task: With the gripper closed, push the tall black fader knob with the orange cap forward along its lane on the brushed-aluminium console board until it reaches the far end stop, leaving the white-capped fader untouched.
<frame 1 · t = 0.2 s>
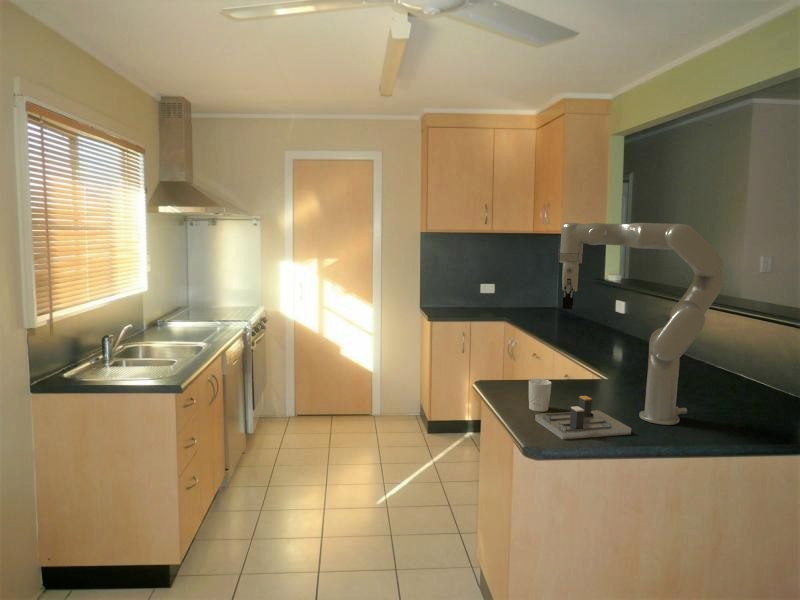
hand: (567, 307, 207), 37 cm above the worktop, tool pointing down, fingers open, 9 cm apart
white cup: (538, 409, 209), on the worktop
console: (581, 426, 191), on the worktop
fader a: (585, 406, 197), point 5 cm above the worktop, slide at 0.0 cm
fader b: (577, 417, 185), point 5 cm above the worktop, slide at 9.0 cm
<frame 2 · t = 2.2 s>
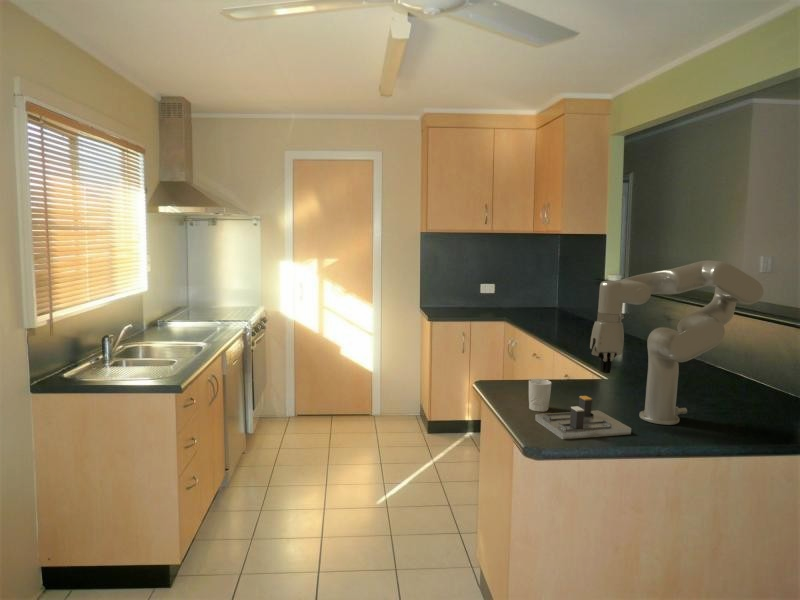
hand: (605, 372, 197), 17 cm above the worktop, tool pointing down, fingers closed
nothing on the worktop moved.
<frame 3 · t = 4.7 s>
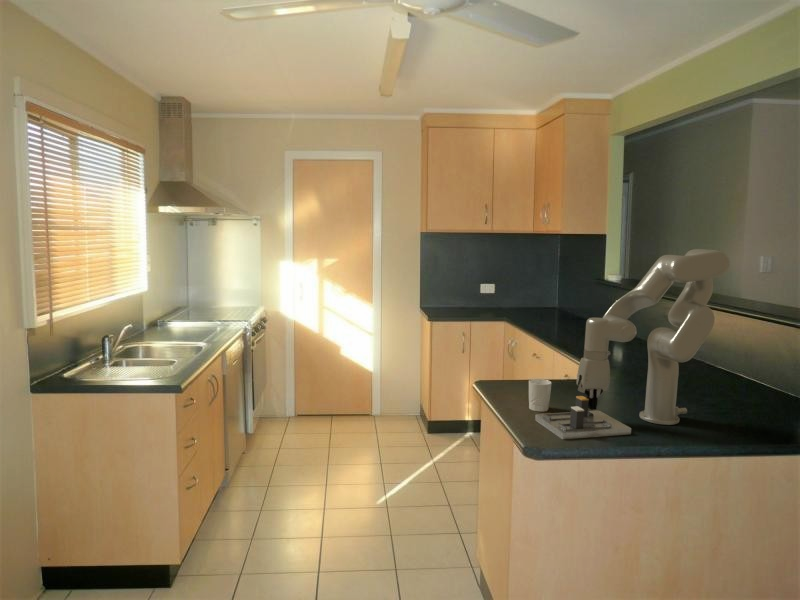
hand: (591, 408, 197), 4 cm above the worktop, tool pointing down, fingers closed
fader a: (581, 406, 196), point 5 cm above the worktop, slide at 1.2 cm, touching gripper
everything else where it was.
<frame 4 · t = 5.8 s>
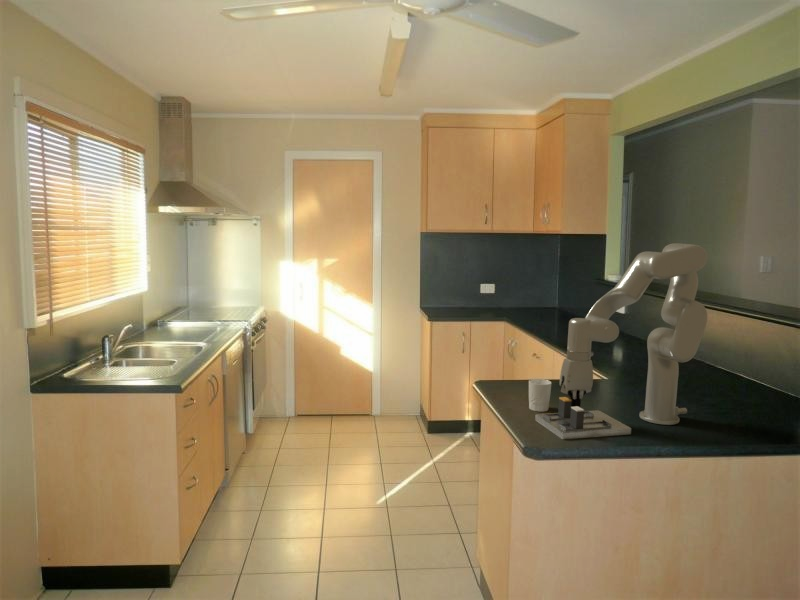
hand: (574, 409, 196), 4 cm above the worktop, tool pointing down, fingers closed
fader a: (564, 407, 195), point 5 cm above the worktop, slide at 7.5 cm, touching gripper
everything else where it was.
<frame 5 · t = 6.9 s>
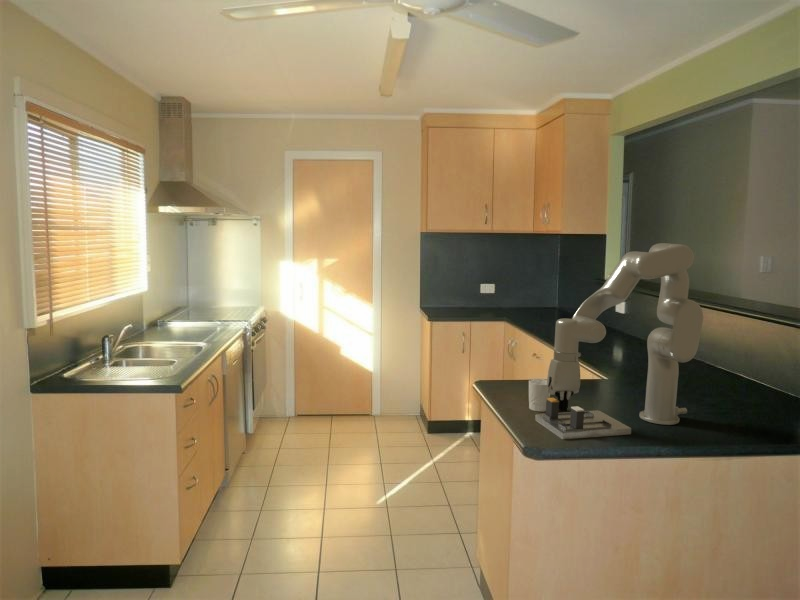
hand: (562, 410, 195), 4 cm above the worktop, tool pointing down, fingers closed
fader a: (552, 408, 194), point 5 cm above the worktop, slide at 12.1 cm, touching gripper
everything else where it was.
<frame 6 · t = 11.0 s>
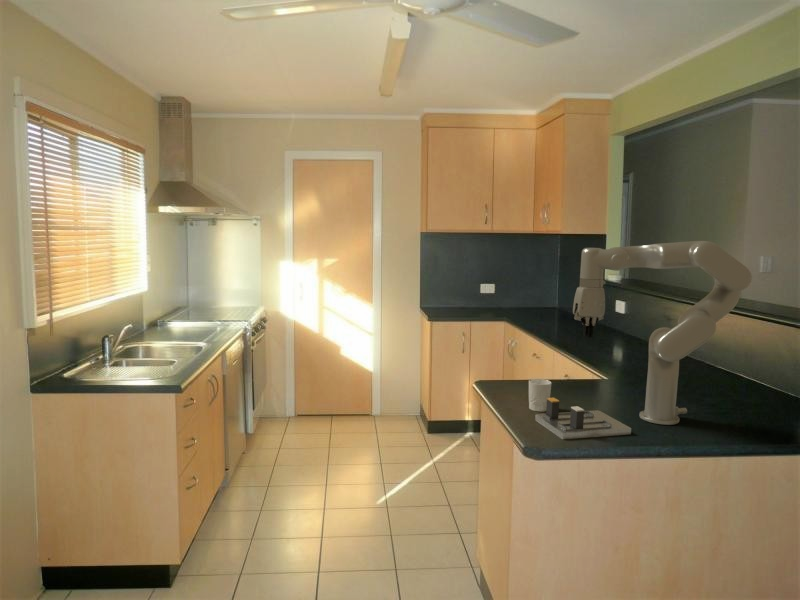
hand: (587, 336, 204), 27 cm above the worktop, tool pointing down, fingers closed
fader a: (552, 408, 194), point 5 cm above the worktop, slide at 12.0 cm
everything else where it was.
at the end: fader a slide at 12.0 cm; fader b slide at 9.0 cm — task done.
